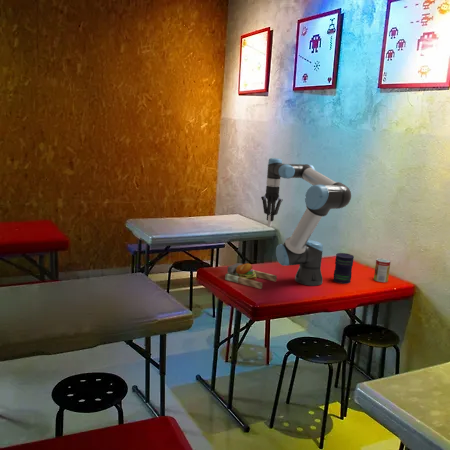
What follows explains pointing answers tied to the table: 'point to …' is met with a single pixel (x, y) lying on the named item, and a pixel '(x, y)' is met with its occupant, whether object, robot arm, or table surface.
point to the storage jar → (343, 268)
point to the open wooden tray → (233, 277)
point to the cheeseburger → (246, 271)
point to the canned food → (382, 270)
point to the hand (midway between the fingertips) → (269, 226)
